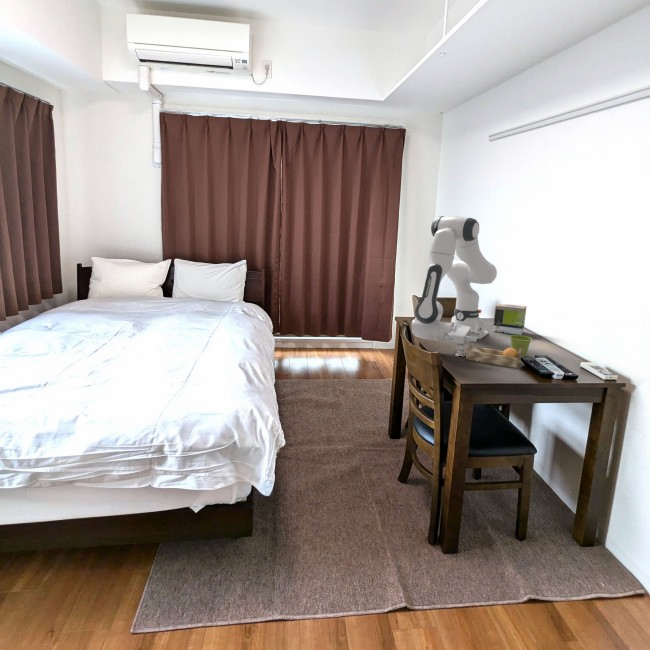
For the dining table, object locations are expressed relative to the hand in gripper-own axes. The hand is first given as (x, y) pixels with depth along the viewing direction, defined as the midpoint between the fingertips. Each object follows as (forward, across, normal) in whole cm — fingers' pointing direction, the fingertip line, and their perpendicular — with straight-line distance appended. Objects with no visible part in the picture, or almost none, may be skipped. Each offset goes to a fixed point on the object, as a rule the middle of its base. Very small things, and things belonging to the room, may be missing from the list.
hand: (478, 336), depth 212 cm
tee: (-7, 0, +10) cm, 12 cm away
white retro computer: (+8, +61, +10) cm, 62 cm away
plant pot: (+17, +15, +10) cm, 24 cm away
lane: (+7, 0, +10) cm, 12 cm away
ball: (+16, 0, +8) cm, 18 cm away
